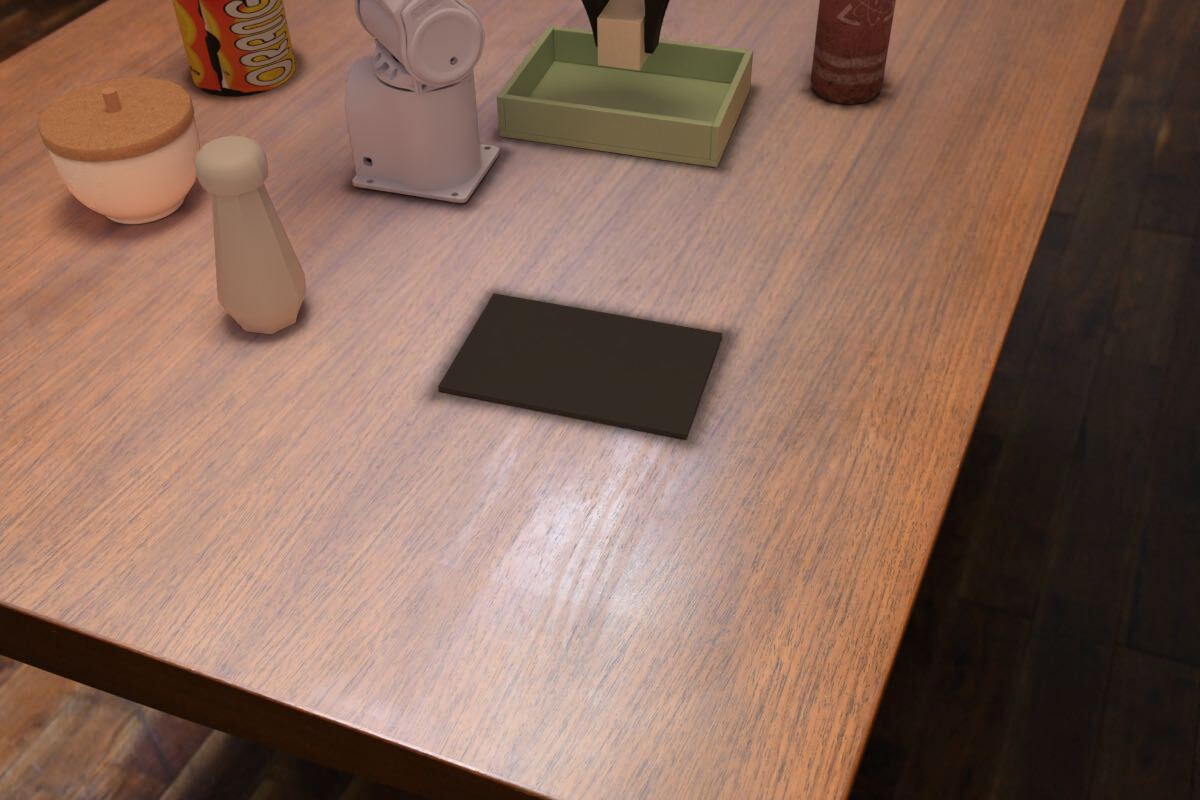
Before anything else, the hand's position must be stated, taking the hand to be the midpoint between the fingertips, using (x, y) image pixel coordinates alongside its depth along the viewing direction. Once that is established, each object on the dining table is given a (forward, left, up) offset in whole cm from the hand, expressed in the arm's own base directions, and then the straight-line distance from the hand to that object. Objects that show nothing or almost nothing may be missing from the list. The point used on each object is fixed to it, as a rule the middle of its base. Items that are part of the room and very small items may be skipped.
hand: (627, 45), depth 98 cm
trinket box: (-32, -23, -6) cm, 40 cm away
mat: (+6, -32, -6) cm, 33 cm away
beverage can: (-35, -2, -6) cm, 36 cm away
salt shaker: (-16, -33, -6) cm, 37 cm away
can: (+17, +9, -6) cm, 20 cm away
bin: (0, 0, -6) cm, 6 cm away
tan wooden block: (0, 0, -1) cm, 1 cm away
